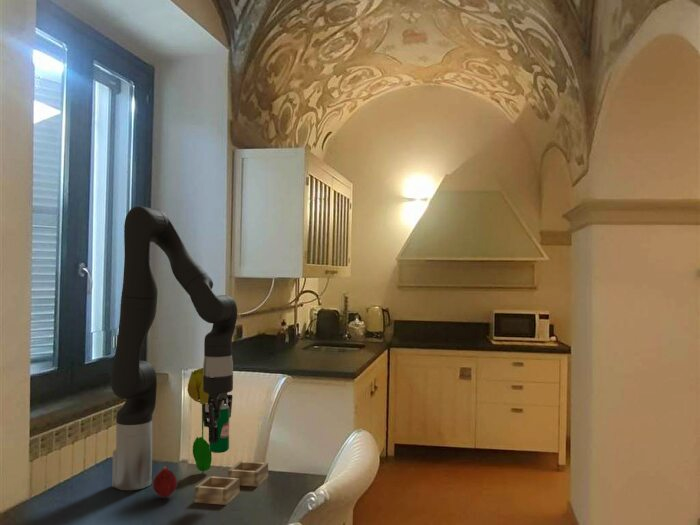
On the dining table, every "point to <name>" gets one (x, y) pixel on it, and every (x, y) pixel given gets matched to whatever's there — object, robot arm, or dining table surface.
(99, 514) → the dining table surface
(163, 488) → the onion
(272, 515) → the dining table surface
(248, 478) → the oak endcap
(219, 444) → the soda can
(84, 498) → the dining table surface
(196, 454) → the flower
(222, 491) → the oak endcap
